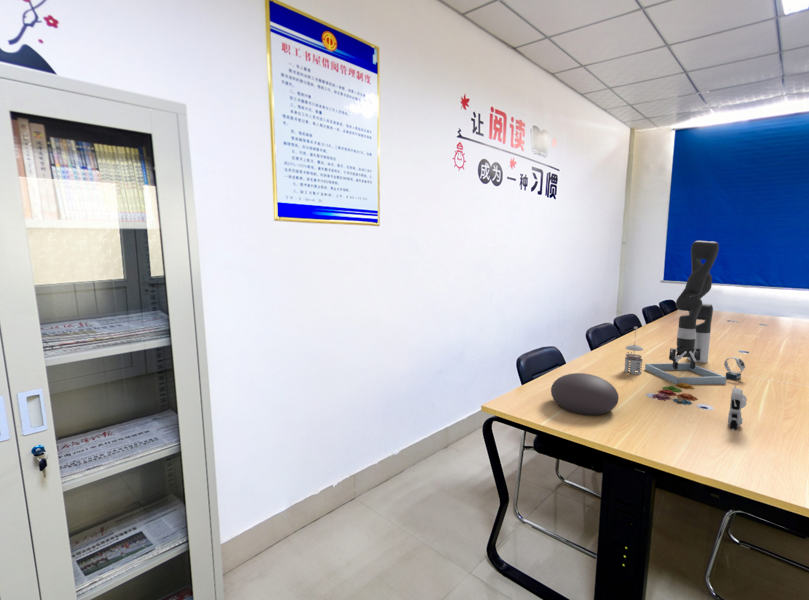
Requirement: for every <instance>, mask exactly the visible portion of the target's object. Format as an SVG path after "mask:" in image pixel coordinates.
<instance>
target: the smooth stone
mask: <svg viewBox="0 0 809 600" xmlns="http://www.w3.org/2000/svg"><path fill="white" fill-rule="evenodd" d="M550 392H551V393H550V394H551V397H552V399H553V400H554V401H555V403H556V404H557V405H559V406H560V407H561V408H563V409H564V410H566V411H569V412H572V413H573V414H574V413H575V414H578V415H579V414H580V415H586V416H599V415H604V414H607V413H609V412H611V411H612V410H614V408H616V407H617V404H618V403H619V393H618V391H617V389H616V387H614V385H612V383H611V382H609V381H607V380H606V379H605V378H602V377H600V376H597V375H593V374H589V373H583V372H577V373H576V372H575V373H569V374H564V375H562V376H560V377H558V378H557V379H555V380H554V382H553V383H552V385H551V387H550Z"/></svg>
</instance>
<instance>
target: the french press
mask: <svg viewBox="0 0 809 600" xmlns="http://www.w3.org/2000/svg"><path fill="white" fill-rule="evenodd" d="M633 329H634V330H635V332H634V337H636V335H637V334H636V332H637V330H638V329H639V327H638V326H633ZM625 349H626V350H629V351H633V352H637V351H638V352H641V351H643V350H644V348H643V347H642V346H640V345H637V344H636V342H634V344H629V345H627V346H625ZM629 351H627V352H626V354H625V357H624V370H623V371H624V372H625V373H626V372H627V373H626V374H630V373H632V374H631V375H641V374H642V371H643V369H642V368H643V358H642V355H640V354H636V353H633V352H629ZM628 370H630V372H628ZM635 371H638V372H635Z"/></svg>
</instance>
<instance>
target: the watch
mask: <svg viewBox="0 0 809 600" xmlns="http://www.w3.org/2000/svg"><path fill="white" fill-rule="evenodd" d="M729 359H734V360H735V364H736V365H737V367H738V368H739V369H740V371H739V372H736V371H733V370H731V368H730V366H729V363H728V360H729ZM723 365H724V368H725V370H726V371H727V372H725V377H726V380H732V381H739V380H741V378H742V372H744V370H745V368H746V365H745V362H744V361H743V359H741V358H739V357H737V356H730V357H727V358H726V359H725V360H724V363H723Z"/></svg>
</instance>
